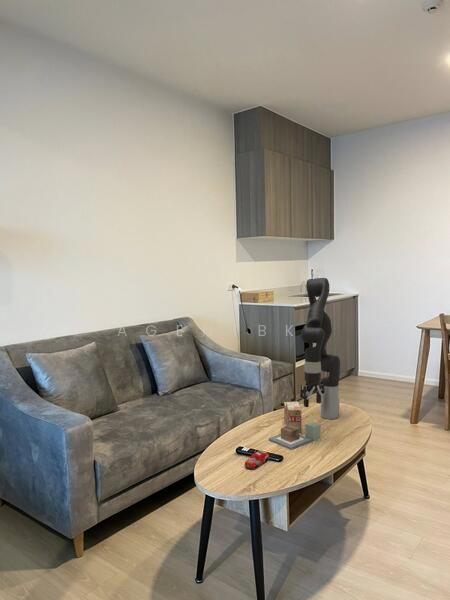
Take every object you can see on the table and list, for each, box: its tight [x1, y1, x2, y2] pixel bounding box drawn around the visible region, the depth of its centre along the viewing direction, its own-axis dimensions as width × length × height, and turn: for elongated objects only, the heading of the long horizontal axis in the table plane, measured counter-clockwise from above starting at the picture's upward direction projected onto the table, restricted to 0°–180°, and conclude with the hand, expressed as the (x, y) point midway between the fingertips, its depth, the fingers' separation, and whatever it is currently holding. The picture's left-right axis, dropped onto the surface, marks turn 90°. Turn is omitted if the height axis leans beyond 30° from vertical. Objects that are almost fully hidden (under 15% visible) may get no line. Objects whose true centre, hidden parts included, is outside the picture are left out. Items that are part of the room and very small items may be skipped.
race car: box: [244, 450, 270, 470], centre depth 179 cm, size 13×5×4 cm, turn 141°
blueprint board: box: [268, 425, 313, 451], centre depth 201 cm, size 14×14×6 cm
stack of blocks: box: [283, 401, 302, 434], centre depth 220 cm, size 21×6×12 cm, turn 178°
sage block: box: [304, 421, 322, 442], centre depth 203 cm, size 5×5×7 cm
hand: (312, 405), depth 202 cm, fingers open, 8 cm apart
